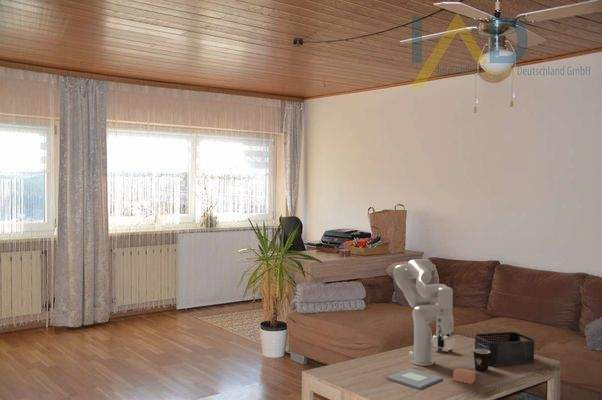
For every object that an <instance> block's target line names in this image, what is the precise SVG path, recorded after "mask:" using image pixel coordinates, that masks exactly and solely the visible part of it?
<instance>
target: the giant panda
mask: <svg viewBox="0 0 602 400" xmlns="http://www.w3.org/2000/svg"><path fill="white" fill-rule="evenodd" d="M434 336H436V334H433V335H432V344H434ZM443 350H444V349H443V348H439V347H437V351H436V353H442V351H443ZM453 351H454V348H453V349H450V350H448V349H447V352H446V353H447V354H449V355H450V354H452V353H453Z"/></svg>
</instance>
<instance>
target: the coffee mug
mask: <svg viewBox="0 0 602 400" xmlns="http://www.w3.org/2000/svg"><path fill="white" fill-rule="evenodd" d="M490 357H494V356H490V351H489V350H485V349H475V348H474V349H473V359H474V369H475V370H474V371H475V372H476V371H477V372H480V373H487V372H489V367H490V366H491V365H493V364H494V363H496V357H494V358H495V362H494V363H493V364H490V365H489V359H490Z"/></svg>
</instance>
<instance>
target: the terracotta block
mask: <svg viewBox="0 0 602 400" xmlns="http://www.w3.org/2000/svg"><path fill="white" fill-rule="evenodd" d="M452 377H453V379H452V380H453V381H454V380H455V382H458V381H459V383H463V382H464V384H467V383H468V384H467V385H472V384H473V383H474V381H475V382H476V370H470V369H465V368H460V367H458V368H456V369H453V373H452Z"/></svg>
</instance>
